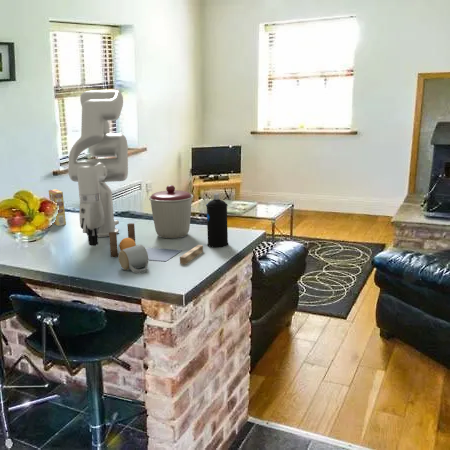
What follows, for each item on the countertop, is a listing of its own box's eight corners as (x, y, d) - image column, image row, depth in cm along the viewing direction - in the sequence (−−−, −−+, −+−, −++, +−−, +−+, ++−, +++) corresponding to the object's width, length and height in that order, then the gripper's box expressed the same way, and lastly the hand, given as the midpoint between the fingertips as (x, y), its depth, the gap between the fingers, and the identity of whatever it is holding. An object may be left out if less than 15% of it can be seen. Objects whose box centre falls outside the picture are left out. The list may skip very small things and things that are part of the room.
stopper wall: (198, 251, 208) (197, 244, 207) (203, 251, 207) (202, 245, 207) (180, 264, 193) (179, 257, 193) (185, 264, 193) (185, 257, 192)
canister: (184, 242, 220) (182, 190, 215) (143, 239, 225) (140, 188, 220) (201, 231, 236) (199, 182, 231) (162, 229, 242) (159, 180, 237)
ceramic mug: (117, 268, 191) (116, 246, 189) (139, 263, 196) (137, 242, 194) (132, 276, 183) (131, 253, 181) (154, 271, 187) (153, 249, 185)
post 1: (113, 255, 206) (111, 231, 203) (119, 255, 205) (117, 231, 203) (109, 257, 203) (107, 233, 201) (115, 257, 202) (113, 233, 200)
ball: (126, 252, 211) (123, 236, 210) (140, 250, 209) (137, 235, 208) (118, 256, 205) (114, 240, 204) (132, 255, 203) (129, 239, 202)
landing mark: (148, 247, 214) (148, 247, 214) (182, 250, 209) (182, 250, 209) (130, 258, 201) (130, 257, 201) (165, 261, 196) (165, 261, 196)
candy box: (66, 224, 253) (63, 191, 250) (57, 226, 251) (53, 192, 248) (60, 221, 261) (57, 188, 257) (51, 222, 258) (48, 190, 255)
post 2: (130, 245, 218) (129, 223, 215) (136, 246, 217) (135, 223, 214) (127, 247, 215) (126, 224, 213) (133, 247, 214) (132, 225, 212)
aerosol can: (231, 243, 218) (230, 192, 213) (223, 248, 210) (221, 196, 206) (212, 241, 221) (211, 191, 216) (203, 246, 214) (201, 195, 209)
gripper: (86, 202, 202) (90, 251, 206) (109, 194, 215) (112, 240, 220) (69, 201, 204) (73, 249, 209) (92, 193, 218) (96, 239, 222)
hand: (93, 244), depth 214 cm, fingers closed
